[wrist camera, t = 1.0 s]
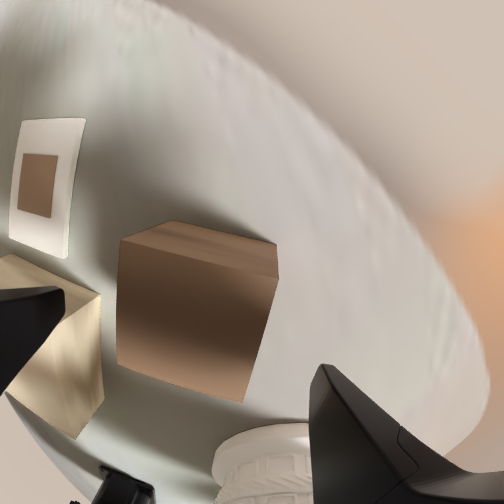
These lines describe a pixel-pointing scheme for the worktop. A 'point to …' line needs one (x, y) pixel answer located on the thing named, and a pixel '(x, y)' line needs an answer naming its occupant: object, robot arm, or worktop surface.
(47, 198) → the card
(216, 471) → the decorative container
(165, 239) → the walnut cube
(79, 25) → the worktop surface
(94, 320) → the birch plinth
